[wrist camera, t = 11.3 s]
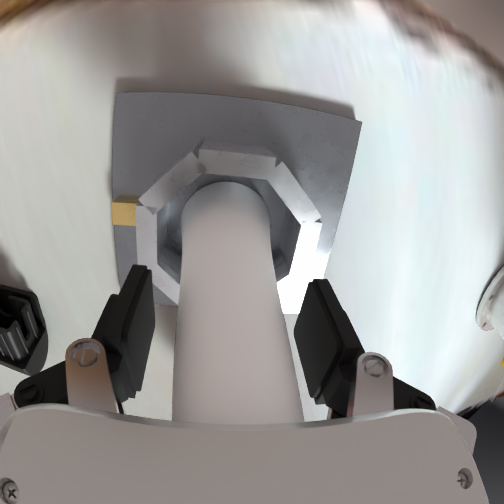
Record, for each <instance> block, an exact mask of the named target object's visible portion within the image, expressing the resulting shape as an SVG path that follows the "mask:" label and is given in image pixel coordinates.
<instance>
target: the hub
mask: <svg viewBox="0 0 504 504" xmlns="http://www.w3.org/2000/svg"><path fill="white" fill-rule="evenodd" d="M361 126H362V122H361V121H357V120H354V119H350V118H346V117H342V116H339V115H334V114H330V113H326V112H322V111H317V110H313V109H308V108H303V107H298V106H293V105H287V104H282V103H276V102H270V101H263V100H256V99H249V98H241V97H232V96H222V95H211V94H197V93H176V92H125V93H116V98H115V110H114V125H113V150H112V191H113V201H112V202H111V207H112V224H113V225H114V232H115V245H116V255H117V265H118V273H119V281H120V289H121V288H122V286H123V284H124V282H125V280H126V278H127V275H128V273H129V271H130V269H131V267H132V265H133V264H137V265H146V266H147V269H151V270H152V283H153V298H154V304H159V305H169V306H178V301H179V290H180V280H181V267H182V233H181V215H182V212H183V209H184V207H185V205H186V203H187V201H188V200H189V199H190V198H191V196H192V195H193V194H194V193H196V192H197V191H198V190H200V189H201V188H203V187H205V186H207V185H210V184H213V183H217V182H235V183H239V184H242V185H245V186H247V187H249V188H251V189H252V190H253V191H255V192H256V193H257V194H258V195H259V196H260V197H261V198H262V199H263V201H264V202H265V204H266V206H267V208H268V211H269V215H270V243H271V252H272V259H273V265H274V270H275V276H276V281H277V285H278V290H279V295H280V300H281V305H282V309H283V313H297V314H299V311H300V308H301V305H302V302H303V298H304V295H305V292H306V288H307V285H308V283H309V282H312V280H313V279H314V278H317V279H322V278H323V275H324V271H325V268H326V265H327V262H328V258H329V255H330V252H331V248H332V245H333V241H334V238H335V234H336V230H337V227H338V223H339V220H340V216H341V212H342V208H343V204H344V200H345V197H346V193H347V188H348V184H349V180H350V176H351V172H352V168H353V163H354V159H355V154H356V150H357V145H358V140H359V135H360V131H361Z"/></svg>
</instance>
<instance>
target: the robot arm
mask: <svg viewBox="0 0 504 504" xmlns="http://www.w3.org/2000/svg"><path fill="white" fill-rule="evenodd" d="M476 321H477V324H478V325H479V327H480V328H481V329H482V330H484V331H488V330H492V329H495V330H496V331H497V332H498V334H499V335H500V336H501V337H502V339H503V340H504V266H503V267H502V268H501V270H500V271H499V272H498V273H497V274H496V276H495V277H494V279H493V280H492V281H491V283H490V285H489V286H488V288H487V290H486V291H485V293H484V295H483V297H482V299H481V302H480V304H479V307H478V311H477V316H476ZM154 328H155V311H154V298H153V283H152V270H151V269H147V266H146V265H137V264H133V265H132V267H131V269H130V271H129V273H128V275H127V278H126V280H125V282H124V284H123V286H122V288H121V290H120V293H119V295H117V294H112V295H111V296H110V297H109V299H108V302H107V304H106V306H105V308H104V310H103V312H102V315H101V317H100V319H99V321H98V323H97V326H96V328H95V330H94V333H93V335H92V337H91V338H82V339H78V340H76V341H74V342H73V343H72V344H71V345H70V346H69V347H68V348H67V350H66V355H65V361H63V362H61V363H59V364H56V365H54V366H52V367H50V368H48V369H46V370H44V371H41V372H39V373H37V374H35V375H33V376H31V377H28V378H26V379H24V380H23V381H21V382H20V383H19V384H18V385H17V386H16V389H15V391H14V394H12V395H10V394H9V392H8V393H6V394H4V395H2V396H0V504H489V501H488V498H487V495H486V492H485V488H484V486H483V483H482V480H481V478H480V475H479V472H478V469H477V467H476V464H475V462H474V459H473V457H472V454H473V450H474V445H475V440H476V429H475V427H474V426H473V424H472V423H470V422H469V421H467V420H465V419H463V418H461V417H459V416H457V415H455V414H453V413H451V412H449V411H448V410H446V409H444V408H442V407H440V406H439V407H438V408H436V406H435V403H434V401H433V400H432V398H431V397H430V396H428V395H427V394H425V393H423V392H422V391H420V390H418V389H416V388H414V387H412V386H410V385H408V384H407V383H405V382H403V381H401V380H399V379H397V378H395V377H394V376H393V370H392V366H391V364H390V362H389V361H388V360H387V359H386V358H385V357H384V356H382V355H381V354H378V353H374V352H367V353H365V351H364V349H363V347H362V345H361V343H360V341H359V338H358V336H357V334H356V332H355V330H354V328H353V326H352V324H351V322H350V320H349V318H348V316H347V314H346V312H345V311H344V310H343V309H342V307H341V305H340V303H339V301H338V299H337V297H336V295H335V293H334V291H333V289H332V287H331V285H330V283H329V281H328V280H327V279H317V278H314V279H313V280H312V282H309V283H308V285H307V288H306V292H305V295H304V298H303V302H302V305H301V308H300V311H299V315H298V318H297V321H296V324H295V327H294V338H295V342H296V345H297V349H298V353H299V357H300V360H301V364H302V368H303V372H304V376H305V379H306V383H307V387H308V391H309V395H310V397H311V398H314V400H315V404H316V405H318V404H326V406H328V407H329V410H328V416H327V420H321V421H311V422H299V423H282V424H208V423H192V422H179V421H169V420H160V419H152V418H145V417H138V416H132V415H126V414H125V410H124V406H123V402H124V401H126V400H128V397H129V398H135V395H136V391H141V388H142V383H143V378H144V373H145V368H146V363H147V359H148V354H149V350H150V345H151V341H152V337H153V333H154Z"/></svg>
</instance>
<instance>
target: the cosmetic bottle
mask: <svg viewBox="0 0 504 504" xmlns="http://www.w3.org/2000/svg"><path fill="white" fill-rule="evenodd" d="M181 233H182V267H181V280H180V290H179V301H178V313H177V324H176V337H175V351H174V368H173V396H172V421H179V422H192V423H208V424H282V423H299V422H304V416H303V410H302V404H301V399H300V393H299V388H298V383H297V378H296V372H295V367H294V362H293V357H292V352H291V347H290V343H289V338H288V333H287V328H286V323H285V319H284V314H283V309H282V305H281V300H280V295H279V290H278V285H277V281H276V276H275V270H274V265H273V259H272V252H271V243H270V215H269V211H268V208H267V206H266V204H265V202H264V201H263V199H262V198H261V197H260V196H259V195H258V194H257V193H256V192H255V191H253V190H252V189H251V188H249V187H247V186H245V185H242V184H239V183H235V182H217V183H213V184H210V185H207V186H205V187H203V188H201V189H200V190H198V191H197V192H196V193H194V194H193V195H192V196H191V198H190V199H189V200H188V201H187V203H186V205H185V207H184V209H183V212H182V215H181Z"/></svg>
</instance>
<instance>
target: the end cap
mask: <svg viewBox="0 0 504 504" xmlns="http://www.w3.org/2000/svg"><path fill="white" fill-rule="evenodd" d="M47 353H48V334H47V330H46V325H45V320H44V317H43V314H42V311H41V308H40V304H39V301H38V298H37V296H36V295H35V294H34V293H32V292H28V291H24V290H20V289H16V288H12V287H8V286H5V285H1V284H0V364H1V365H3V366H6V367H8V368H11V369H13V370H16V371H18V372H21V373H23V374H26V375H29V376H33V375H35V374H37V373H39V372H40V371H41V370H42V368H43V366H44V364H45V361H46V358H47Z"/></svg>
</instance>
